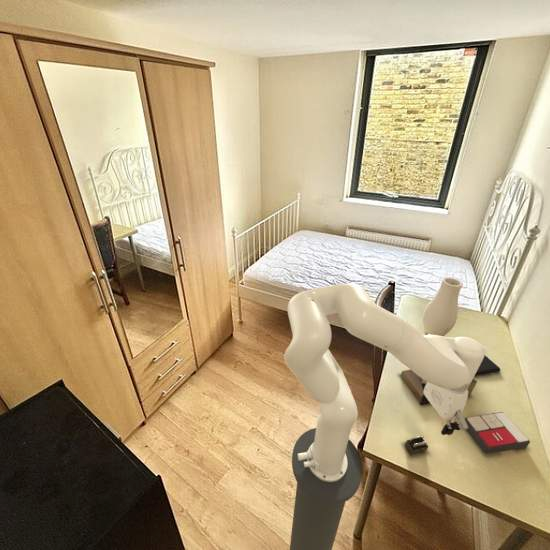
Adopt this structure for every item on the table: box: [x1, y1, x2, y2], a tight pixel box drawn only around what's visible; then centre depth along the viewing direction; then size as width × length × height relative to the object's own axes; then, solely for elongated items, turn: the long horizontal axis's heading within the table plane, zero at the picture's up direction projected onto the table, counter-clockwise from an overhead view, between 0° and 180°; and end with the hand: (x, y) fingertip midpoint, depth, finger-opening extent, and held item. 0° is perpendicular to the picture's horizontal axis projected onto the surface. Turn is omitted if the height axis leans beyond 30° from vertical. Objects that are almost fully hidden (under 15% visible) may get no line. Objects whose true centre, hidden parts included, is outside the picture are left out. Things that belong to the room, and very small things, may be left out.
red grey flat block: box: [464, 411, 531, 455], centre depth 98 cm, size 11×4×15 cm
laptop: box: [474, 355, 501, 377], centre depth 129 cm, size 16×20×2 cm
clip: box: [404, 435, 429, 456], centre depth 93 cm, size 3×6×5 cm, turn 102°
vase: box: [422, 276, 464, 337], centre depth 137 cm, size 14×14×30 cm
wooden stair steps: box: [400, 369, 478, 403], centre depth 114 cm, size 21×14×8 cm, turn 102°
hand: (434, 417), depth 87 cm, fingers open, 9 cm apart
